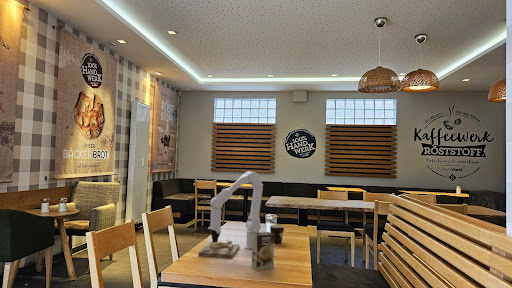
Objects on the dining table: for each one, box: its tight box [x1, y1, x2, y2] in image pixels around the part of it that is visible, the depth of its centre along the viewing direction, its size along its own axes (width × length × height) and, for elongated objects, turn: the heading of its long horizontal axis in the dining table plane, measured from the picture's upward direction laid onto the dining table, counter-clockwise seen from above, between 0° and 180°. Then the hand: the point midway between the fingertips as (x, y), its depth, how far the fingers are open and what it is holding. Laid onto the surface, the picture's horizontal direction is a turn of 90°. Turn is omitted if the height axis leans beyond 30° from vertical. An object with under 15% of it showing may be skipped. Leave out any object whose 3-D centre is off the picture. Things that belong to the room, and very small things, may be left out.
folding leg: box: [209, 240, 233, 248], centre depth 194 cm, size 12×3×3 cm, turn 112°
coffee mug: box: [269, 224, 285, 245], centre depth 216 cm, size 12×9×10 cm
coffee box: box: [251, 231, 275, 271], centre depth 167 cm, size 9×6×16 cm
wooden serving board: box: [198, 242, 240, 259], centre depth 191 cm, size 18×20×4 cm
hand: (214, 243), depth 195 cm, fingers closed
